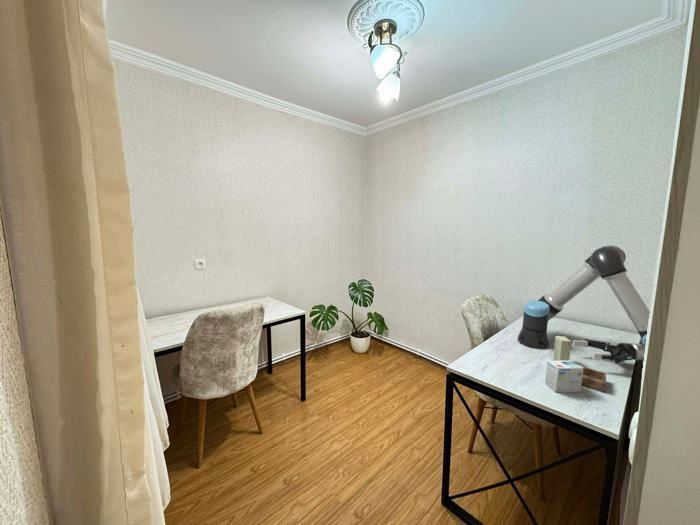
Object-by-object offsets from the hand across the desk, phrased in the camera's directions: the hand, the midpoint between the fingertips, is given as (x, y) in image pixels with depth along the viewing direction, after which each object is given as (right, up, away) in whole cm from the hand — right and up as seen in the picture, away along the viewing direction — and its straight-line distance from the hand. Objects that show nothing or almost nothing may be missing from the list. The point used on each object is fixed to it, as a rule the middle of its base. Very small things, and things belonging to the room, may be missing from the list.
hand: (582, 349), depth 138 cm
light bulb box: (-25, -10, -19) cm, 33 cm away
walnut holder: (-10, -9, -15) cm, 21 cm away
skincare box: (-9, -7, +2) cm, 12 cm away
